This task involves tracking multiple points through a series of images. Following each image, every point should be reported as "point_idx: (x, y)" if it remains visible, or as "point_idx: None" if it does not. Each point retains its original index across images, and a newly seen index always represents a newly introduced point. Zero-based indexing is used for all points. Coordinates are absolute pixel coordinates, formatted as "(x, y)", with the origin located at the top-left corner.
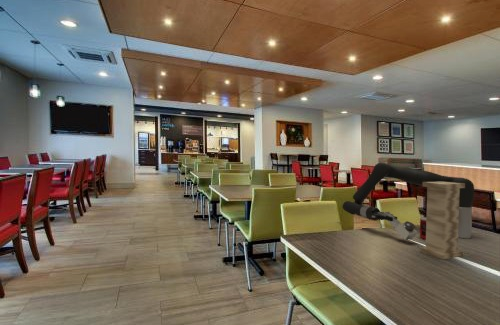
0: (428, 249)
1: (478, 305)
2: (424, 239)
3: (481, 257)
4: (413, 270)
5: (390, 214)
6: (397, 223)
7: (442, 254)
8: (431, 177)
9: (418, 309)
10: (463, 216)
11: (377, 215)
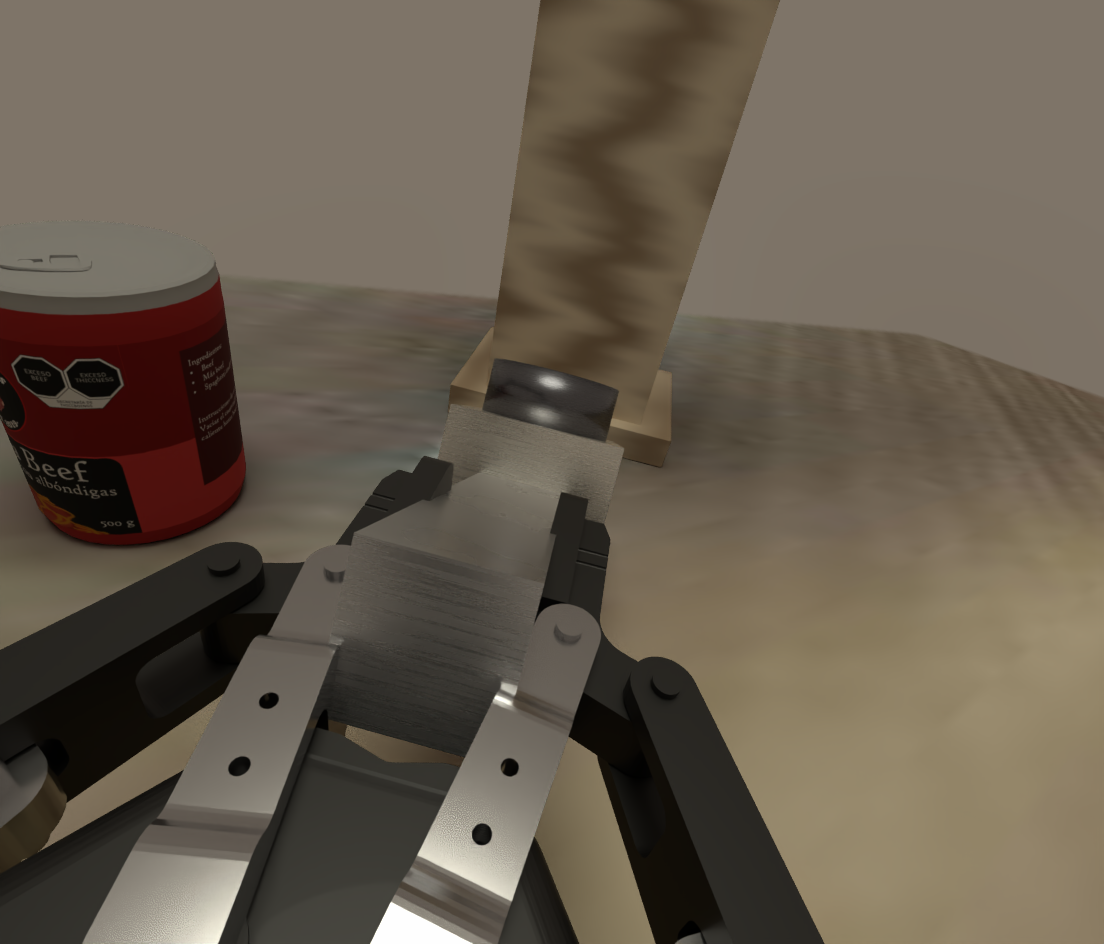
0: (651, 413)
1: (901, 345)
2: (235, 499)
3: (433, 314)
4: (936, 447)
5: (443, 523)
6: (553, 498)
7: (659, 373)
8: None
9: (1094, 407)
10: None
11: (755, 812)
